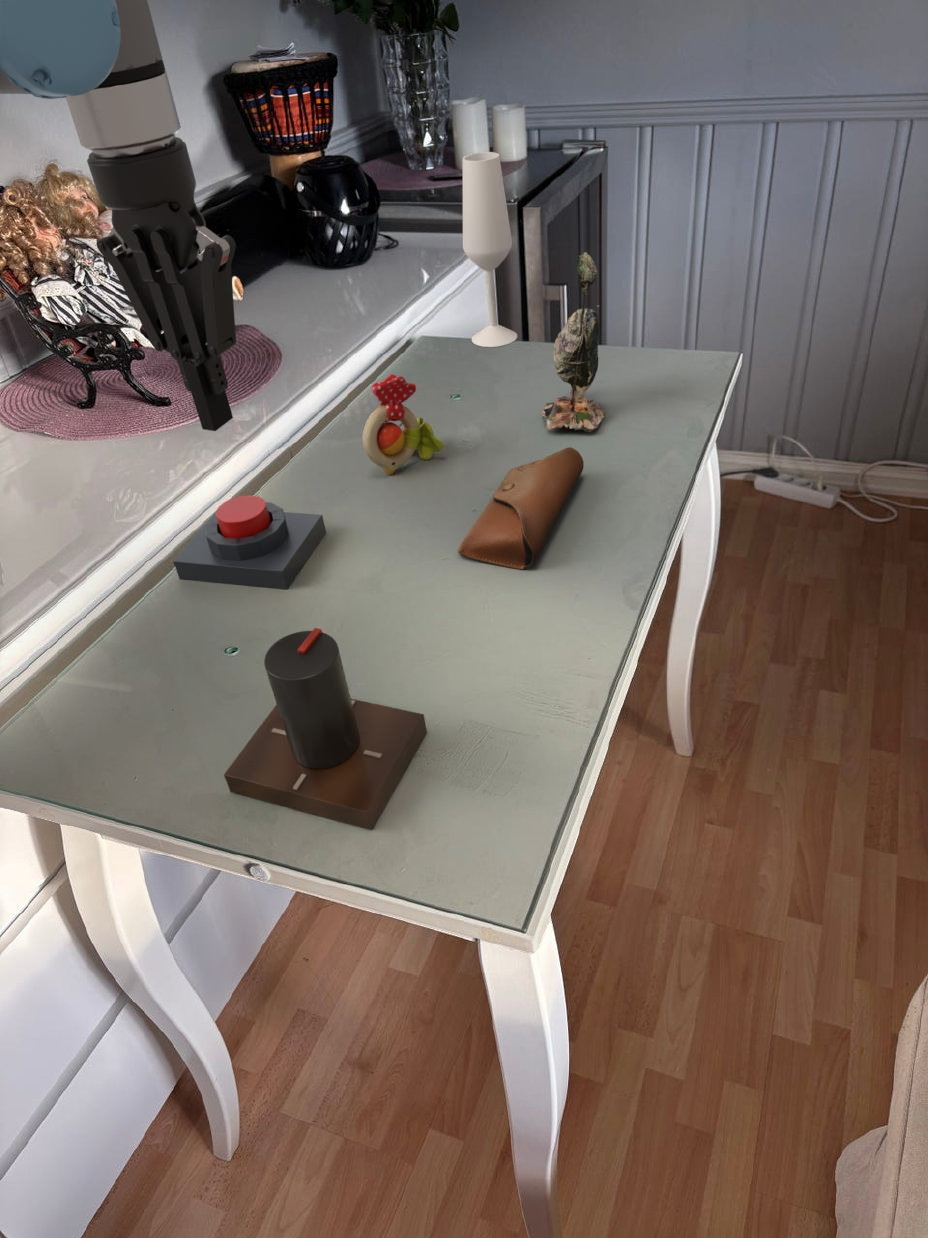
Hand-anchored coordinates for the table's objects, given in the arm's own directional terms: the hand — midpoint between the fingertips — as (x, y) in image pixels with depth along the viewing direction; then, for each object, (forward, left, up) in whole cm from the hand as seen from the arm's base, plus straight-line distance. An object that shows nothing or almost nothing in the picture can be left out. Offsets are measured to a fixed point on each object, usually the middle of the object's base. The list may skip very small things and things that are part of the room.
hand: (217, 423), depth 84 cm
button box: (0, 0, -15) cm, 15 cm away
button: (0, 0, -11) cm, 11 cm away
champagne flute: (+30, +49, -15) cm, 59 cm away
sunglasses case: (+28, +1, -15) cm, 32 cm away
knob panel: (+9, -30, -15) cm, 35 cm away
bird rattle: (+16, +15, -15) cm, 26 cm away
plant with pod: (+37, +22, -15) cm, 45 cm away
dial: (+9, -30, -13) cm, 34 cm away
